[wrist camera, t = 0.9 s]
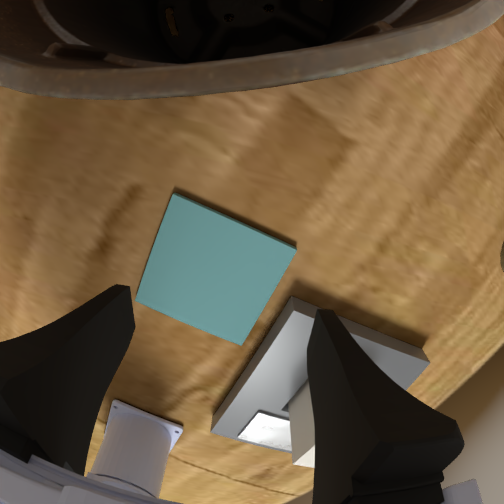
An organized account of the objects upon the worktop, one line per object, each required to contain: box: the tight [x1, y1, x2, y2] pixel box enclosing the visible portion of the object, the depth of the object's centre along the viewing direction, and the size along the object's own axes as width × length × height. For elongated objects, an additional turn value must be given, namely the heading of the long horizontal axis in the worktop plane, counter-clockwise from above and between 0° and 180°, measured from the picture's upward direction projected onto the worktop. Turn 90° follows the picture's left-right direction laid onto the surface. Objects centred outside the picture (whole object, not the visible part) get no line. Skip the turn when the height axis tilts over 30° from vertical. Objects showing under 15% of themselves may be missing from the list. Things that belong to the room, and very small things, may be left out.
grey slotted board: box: [210, 296, 430, 453], centre depth 26 cm, size 16×14×2 cm
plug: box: [288, 379, 315, 468], centre depth 23 cm, size 4×4×8 cm
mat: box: [135, 193, 297, 346], centre depth 23 cm, size 9×9×1 cm
